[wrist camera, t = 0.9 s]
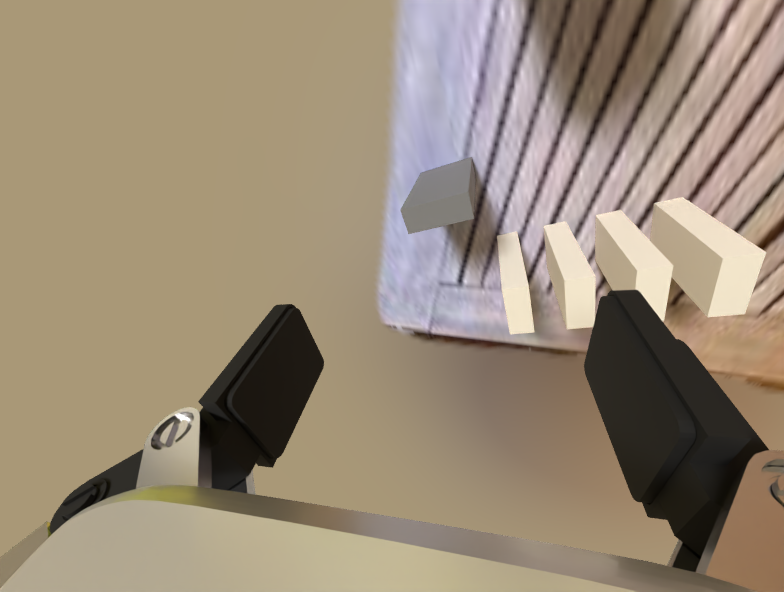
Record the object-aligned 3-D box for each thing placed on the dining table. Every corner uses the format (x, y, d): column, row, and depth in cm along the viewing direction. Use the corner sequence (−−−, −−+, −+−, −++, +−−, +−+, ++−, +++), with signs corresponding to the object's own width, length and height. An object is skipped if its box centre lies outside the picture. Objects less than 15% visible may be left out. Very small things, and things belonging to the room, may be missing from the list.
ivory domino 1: (517, 231, 31) (528, 285, 24) (522, 271, 34) (534, 332, 26) (497, 235, 32) (501, 289, 24) (503, 274, 35) (510, 334, 27)
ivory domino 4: (682, 197, 26) (766, 252, 19) (674, 247, 29) (744, 314, 21) (654, 203, 27) (722, 258, 19) (648, 251, 30) (707, 317, 22)
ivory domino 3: (620, 209, 28) (673, 265, 20) (618, 256, 31) (663, 320, 23) (595, 215, 29) (637, 270, 21) (595, 259, 31) (631, 323, 24)
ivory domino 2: (565, 221, 30) (595, 276, 22) (567, 264, 32) (594, 326, 25) (543, 225, 30) (564, 280, 23) (546, 267, 33) (566, 329, 25)
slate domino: (421, 172, 30) (400, 210, 22) (471, 156, 28) (468, 191, 20) (426, 192, 31) (408, 234, 23) (475, 178, 29) (474, 218, 22)
